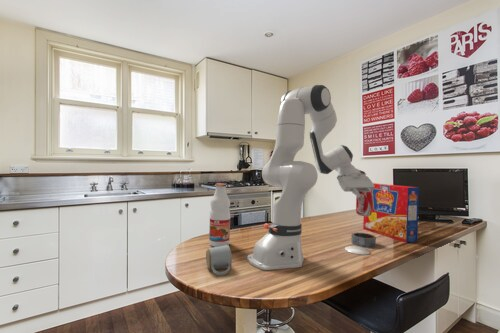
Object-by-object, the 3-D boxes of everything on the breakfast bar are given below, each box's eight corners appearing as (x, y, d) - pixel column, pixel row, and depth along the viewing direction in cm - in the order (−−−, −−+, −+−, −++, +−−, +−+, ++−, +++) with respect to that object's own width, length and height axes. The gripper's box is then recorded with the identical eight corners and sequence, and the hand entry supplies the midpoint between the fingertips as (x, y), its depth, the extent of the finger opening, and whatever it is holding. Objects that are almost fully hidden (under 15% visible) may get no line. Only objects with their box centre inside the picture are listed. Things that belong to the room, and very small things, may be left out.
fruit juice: (232, 242, 119) (234, 183, 119) (224, 248, 110) (226, 184, 110) (214, 240, 122) (216, 182, 122) (205, 246, 113) (207, 183, 113)
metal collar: (365, 248, 115) (365, 239, 115) (346, 241, 125) (347, 233, 125) (380, 245, 120) (380, 237, 120) (361, 239, 130) (361, 231, 130)
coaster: (359, 256, 105) (359, 255, 105) (339, 248, 114) (339, 247, 114) (375, 252, 110) (375, 252, 110) (355, 245, 119) (355, 245, 119)
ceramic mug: (204, 265, 91) (205, 244, 91) (226, 262, 94) (227, 242, 94) (210, 278, 82) (211, 254, 81) (234, 274, 84) (235, 252, 84)
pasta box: (363, 229, 152) (364, 183, 152) (373, 228, 155) (374, 183, 155) (406, 242, 126) (407, 187, 126) (417, 241, 129) (419, 187, 129)
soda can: (373, 217, 118) (374, 191, 118) (357, 216, 120) (358, 190, 120) (369, 214, 125) (370, 190, 125) (354, 213, 126) (355, 189, 126)
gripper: (339, 171, 124) (354, 193, 115) (366, 171, 133) (383, 192, 125) (332, 179, 128) (346, 201, 119) (359, 179, 137) (375, 200, 128)
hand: (365, 196), depth 122 cm, fingers closed on soda can, 6 cm apart
